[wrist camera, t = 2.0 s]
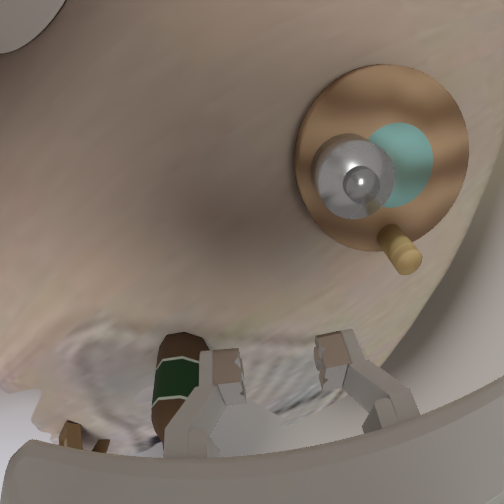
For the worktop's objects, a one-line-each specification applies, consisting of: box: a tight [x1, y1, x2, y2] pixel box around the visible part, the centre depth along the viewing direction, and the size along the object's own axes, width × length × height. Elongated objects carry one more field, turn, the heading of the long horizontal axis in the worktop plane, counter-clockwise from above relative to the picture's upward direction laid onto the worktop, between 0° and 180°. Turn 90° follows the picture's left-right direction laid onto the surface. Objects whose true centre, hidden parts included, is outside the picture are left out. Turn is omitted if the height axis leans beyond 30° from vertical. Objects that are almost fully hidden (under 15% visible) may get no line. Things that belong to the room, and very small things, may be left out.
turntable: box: [295, 64, 469, 275], centre depth 25 cm, size 20×20×7 cm
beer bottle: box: [152, 332, 209, 450], centre depth 34 cm, size 8×8×24 cm
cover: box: [310, 133, 395, 219], centre depth 24 cm, size 7×7×4 cm
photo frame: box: [59, 422, 110, 453], centre depth 59 cm, size 15×22×25 cm
